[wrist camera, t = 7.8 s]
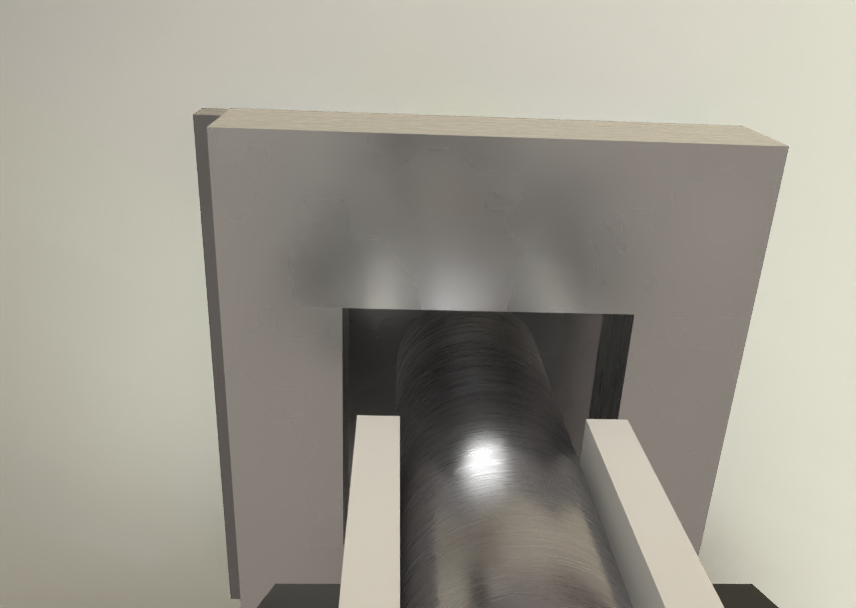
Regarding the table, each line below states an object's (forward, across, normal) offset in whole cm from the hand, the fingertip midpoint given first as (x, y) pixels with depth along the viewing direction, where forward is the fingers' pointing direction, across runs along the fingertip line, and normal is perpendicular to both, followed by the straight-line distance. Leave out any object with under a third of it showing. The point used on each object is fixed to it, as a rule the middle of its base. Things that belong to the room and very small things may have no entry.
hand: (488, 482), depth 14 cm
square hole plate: (+9, 0, -3) cm, 10 cm away
